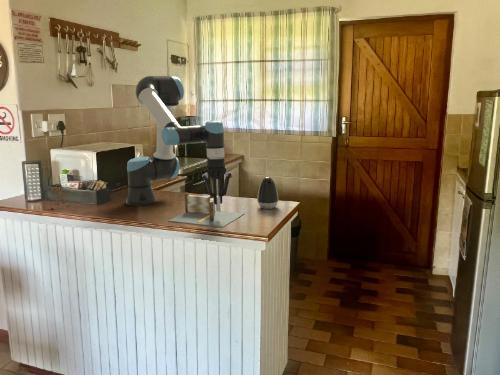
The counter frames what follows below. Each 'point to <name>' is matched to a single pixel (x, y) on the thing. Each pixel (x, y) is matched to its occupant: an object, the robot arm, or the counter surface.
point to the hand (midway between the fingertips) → (218, 211)
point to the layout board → (207, 218)
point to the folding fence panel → (211, 209)
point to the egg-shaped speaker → (267, 194)
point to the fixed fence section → (197, 204)
